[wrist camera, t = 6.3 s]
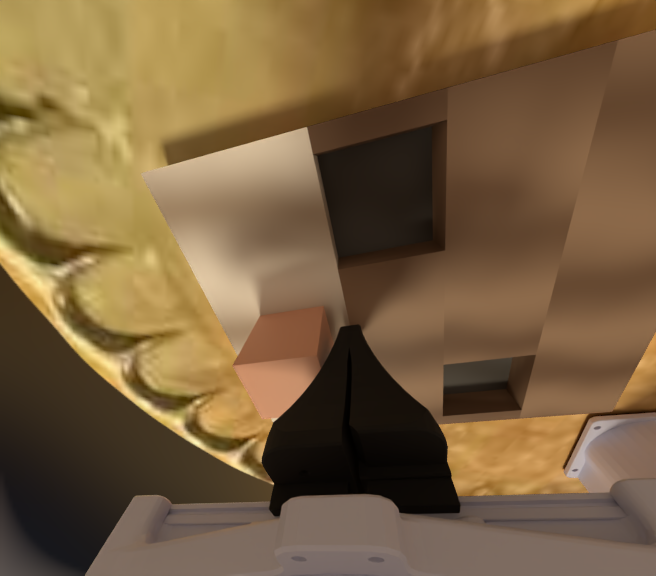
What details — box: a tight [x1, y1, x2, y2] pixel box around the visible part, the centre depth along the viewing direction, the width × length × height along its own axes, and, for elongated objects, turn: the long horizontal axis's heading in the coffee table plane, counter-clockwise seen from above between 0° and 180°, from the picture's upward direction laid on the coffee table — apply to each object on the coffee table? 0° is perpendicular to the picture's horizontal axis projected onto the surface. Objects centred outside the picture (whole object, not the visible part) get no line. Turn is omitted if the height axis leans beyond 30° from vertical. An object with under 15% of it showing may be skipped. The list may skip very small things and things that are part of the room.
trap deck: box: [141, 30, 656, 424], centre depth 14 cm, size 21×25×2 cm
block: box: [233, 306, 334, 419], centre depth 13 cm, size 4×4×4 cm
